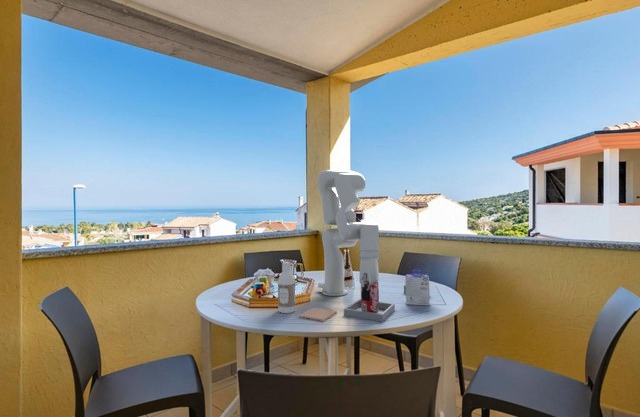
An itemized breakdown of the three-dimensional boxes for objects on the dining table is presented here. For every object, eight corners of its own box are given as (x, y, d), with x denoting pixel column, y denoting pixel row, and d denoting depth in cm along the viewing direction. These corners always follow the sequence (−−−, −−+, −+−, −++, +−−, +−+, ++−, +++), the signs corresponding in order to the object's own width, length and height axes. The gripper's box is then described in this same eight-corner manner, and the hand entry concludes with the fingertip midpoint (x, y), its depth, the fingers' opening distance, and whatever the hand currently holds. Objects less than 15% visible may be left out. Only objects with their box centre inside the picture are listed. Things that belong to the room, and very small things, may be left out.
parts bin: (344, 315, 134) (343, 309, 134) (359, 305, 147) (359, 299, 147) (382, 321, 126) (382, 314, 126) (394, 309, 140) (394, 303, 140)
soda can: (380, 311, 138) (380, 281, 138) (376, 316, 132) (375, 285, 132) (364, 309, 141) (363, 280, 141) (358, 314, 135) (358, 283, 135)
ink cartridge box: (428, 302, 150) (428, 269, 150) (430, 306, 145) (429, 271, 145) (405, 301, 152) (405, 268, 152) (406, 304, 147) (405, 271, 147)
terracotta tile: (298, 317, 132) (298, 315, 132) (312, 309, 142) (312, 307, 142) (323, 321, 127) (323, 319, 127) (336, 313, 136) (336, 311, 136)
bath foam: (275, 312, 138) (274, 263, 138) (282, 307, 144) (281, 260, 144) (291, 314, 136) (290, 264, 136) (297, 309, 142) (297, 261, 142)
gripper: (368, 251, 146) (369, 292, 146) (352, 256, 131) (353, 301, 130) (385, 252, 142) (386, 293, 142) (370, 257, 127) (371, 304, 127)
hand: (370, 297), depth 136 cm, fingers open, 9 cm apart
